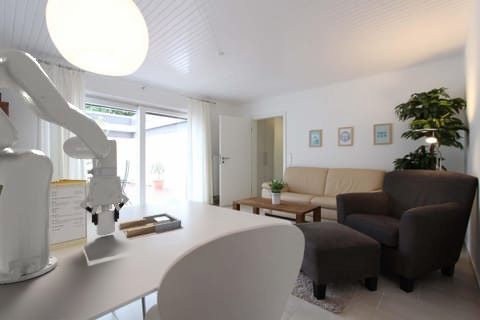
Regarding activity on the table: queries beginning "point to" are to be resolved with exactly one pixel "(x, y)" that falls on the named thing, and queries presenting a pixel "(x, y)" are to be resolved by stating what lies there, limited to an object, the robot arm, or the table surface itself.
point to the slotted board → (140, 228)
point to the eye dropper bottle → (105, 221)
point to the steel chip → (160, 220)
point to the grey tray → (164, 226)
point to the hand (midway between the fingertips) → (105, 222)
